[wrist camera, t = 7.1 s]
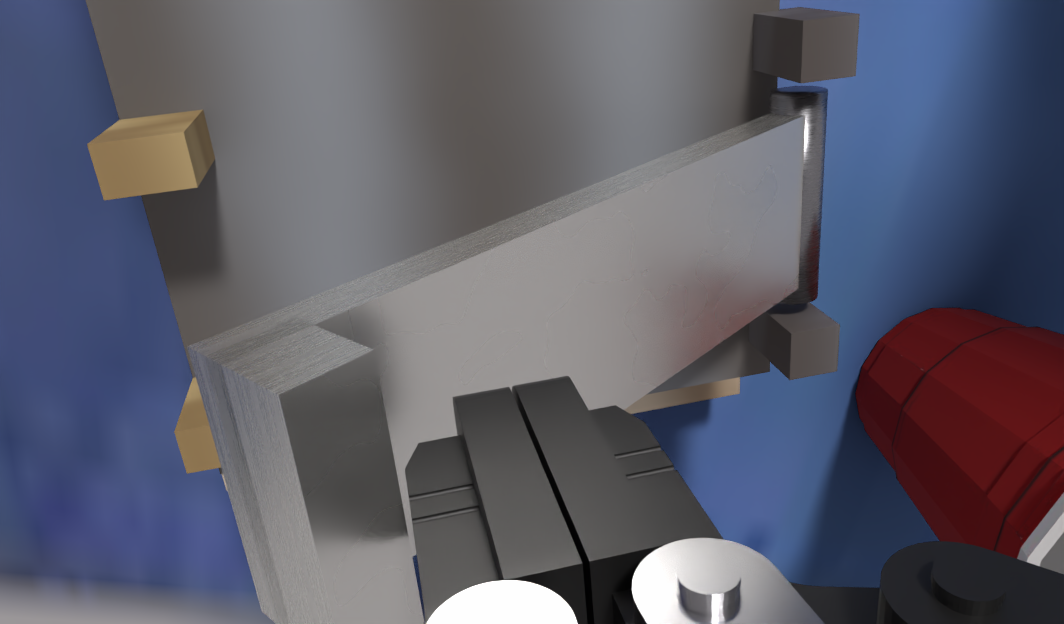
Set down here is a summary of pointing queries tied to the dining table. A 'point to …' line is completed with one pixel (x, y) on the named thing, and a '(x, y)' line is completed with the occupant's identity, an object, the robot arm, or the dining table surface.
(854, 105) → the dining table surface
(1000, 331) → the plastic cup
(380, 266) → the heat sink base
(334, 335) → the strap
